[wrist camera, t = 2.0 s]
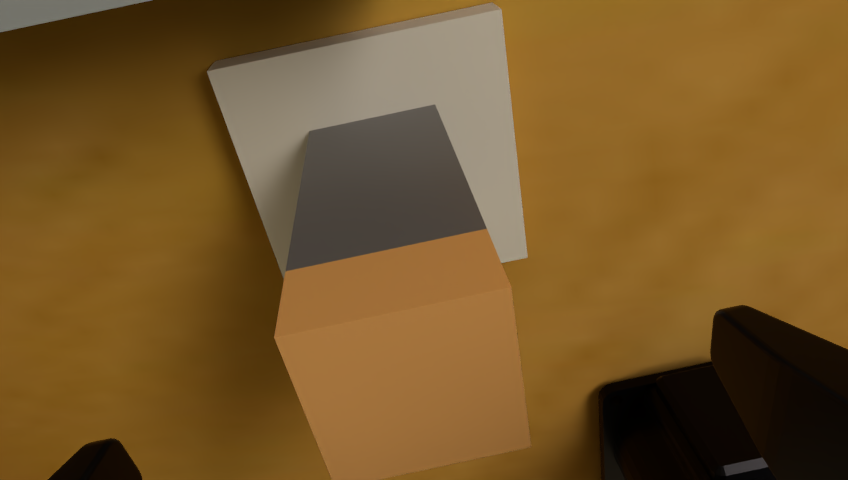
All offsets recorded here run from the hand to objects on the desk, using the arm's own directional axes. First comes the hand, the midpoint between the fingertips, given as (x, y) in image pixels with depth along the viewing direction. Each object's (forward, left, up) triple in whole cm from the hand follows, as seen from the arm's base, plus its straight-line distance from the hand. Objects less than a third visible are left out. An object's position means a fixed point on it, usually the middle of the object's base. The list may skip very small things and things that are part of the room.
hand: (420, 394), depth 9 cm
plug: (0, 0, -8) cm, 8 cm away
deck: (0, 0, -9) cm, 9 cm away
